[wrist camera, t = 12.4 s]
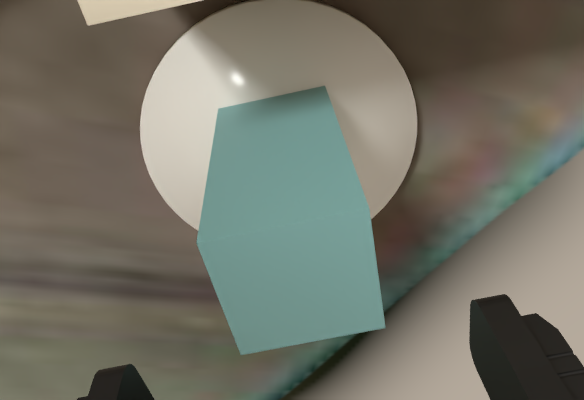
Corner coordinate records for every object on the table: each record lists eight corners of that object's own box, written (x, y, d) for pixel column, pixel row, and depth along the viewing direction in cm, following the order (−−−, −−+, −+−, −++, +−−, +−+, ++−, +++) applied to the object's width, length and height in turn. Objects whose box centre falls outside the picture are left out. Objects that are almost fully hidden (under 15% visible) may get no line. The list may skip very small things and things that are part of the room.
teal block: (218, 108, 20) (196, 243, 12) (325, 85, 20) (369, 207, 12) (245, 197, 22) (240, 354, 15) (340, 178, 22) (385, 327, 15)
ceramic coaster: (96, 33, 18) (92, 37, 18) (405, -35, 18) (409, -32, 17) (191, 264, 25) (189, 272, 25) (419, 220, 24) (422, 227, 24)
